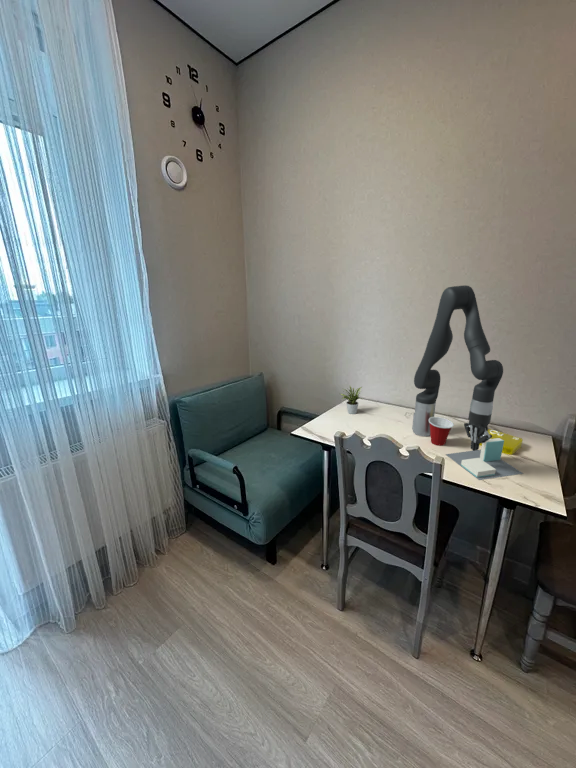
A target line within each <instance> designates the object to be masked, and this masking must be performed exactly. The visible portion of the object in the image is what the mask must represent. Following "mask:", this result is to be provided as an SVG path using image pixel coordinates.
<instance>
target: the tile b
mask: <svg viewBox="0 0 576 768" xmlns="http://www.w3.org/2000/svg"><path fill="white" fill-rule="evenodd" d="M503 444H504V440H502V439H500V438H495V439H489V440H487V441H486V442H485V443H482V446H481V449H480V450H481V454H480V459H481V460H483V461H484V462H487V461H494V460H500V459H501V458H502V454H503V453H502V449H503Z"/></svg>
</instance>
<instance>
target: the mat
mask: <svg viewBox="0 0 576 768" xmlns="http://www.w3.org/2000/svg"><path fill="white" fill-rule="evenodd" d="M480 454H481V449H478V450H475V451H473V450H467V451H460V452H454V453H446V454H445V456H447V457H448V458H450V459H451V460H452V461H453V462H455V463H456V464H457V465H458V466H460V467H461V468H463V469H464V470H465V471H466V472H467V473H469V474H470V475H471V476H473V477H474V478H475V479H476V480H478V481H484V480H492V479H497V478H504V477H509V476H515V475H522V474H524V473H523V471H520V470H519V469H517V468H515V467H514V466H512V465H511V464H510V463H508V462H506V461H505V460H503V459H500V460H494V461H487V462H486V463H487V464H489V465H490V466H492V467H493V468H495V469H496V472H495V475H491V476H484V477H478V478H477V477H476V476H474V475H473V474H472V473H470V472H469V471H468V470H466V469H465V468H464V467H463V466H461V462H462V460H466V459H473V458H480Z"/></svg>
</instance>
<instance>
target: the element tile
mask: <svg viewBox="0 0 576 768" xmlns="http://www.w3.org/2000/svg"><path fill="white" fill-rule="evenodd" d="M488 433H489V435H492V438H490V439H495V438H500V439H502V440H504V444H503V449H502V454H504V455H506V456H507V455H508V456H509V455H510V456H512V455H514V454H515V453H516V452H517V451H518V450H519V449H522V445H523V438H522V437H519V436H514V435H512V434H508V433H505V432H502V431H499V430H494V429H491V428H488ZM479 447H482V443H479Z"/></svg>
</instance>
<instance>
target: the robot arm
mask: <svg viewBox="0 0 576 768" xmlns="http://www.w3.org/2000/svg"><path fill="white" fill-rule="evenodd" d="M438 303H439V304H438V308H437V313H436V317H435V321H434V323H433V327H432V330H431V332H430V335H429V338H428V341H427V343H426V346H425V347H426V348H425V350H424V353H423V356H422V359H421V360H420V363H419V365H418V367H417V369H416V372H415V374H414V378H413V383H414V386H415V388H417V389H420V390H423V391H422V392H419V393H417V394H416V396H415V406H414V412H413V419H412V427H411V429H412V432H413V434H415V435H417V436H419V437H420V436H421V437H430V424H429V418H431V417H435V413H436V404H437V399H438V397H439V390H440V387H441V374H440V372H439V370H437V369H432V368H433V366H435V364H437V363H438V362H439V361H440V360H441V359H442V358H444V357H445V356H446V355H447V353H448V352H449V350H450V347H451V344H452V342H453V339H454V338H453V337H454V335H453V331H452V327H451V322H450V321H451V318H452V315H453V313H454V311H456V310H462V312H463V314H464V316H465V326H464V332H463V339H464V340H463V341H464V343H465V345H466V348H467V351H468V352H469V353H468V354H469V360H470V370H471V375H472V376H473V377H474V378H475V379H477V380H478V381H480V382H479V383H477V384H475V385H474V387H473V389H472V390H473V392H472V398H471V402H470V406H469V411H468V417H467V419H468V422H465V423H463V425H464V430H465V432H466V436H467V438H470V449H471V451H475V450H480V449H479V448H480V445H479V443H485V442H486V441H487V440H489V439H490V438H492V435H489V433H488V429H489V427H488V426H489V424H490V423H491V419H492V414H493V408H494V399H495V393H496V392H495V391H496V390H497V388H498V386H499V384H500V382H501V380H502V378H503V374H504V366H503V364H502V362H500V361H499V360H496V359H491V360H489V359H488V360H487V359H486V355H488V354H489V353H490V352H491V347H490V344H489V341H488V339H487V337H486V334H485V331H484V329H483V326H482V325H483V324H482V322H481V318H480V312H479V307H478V302H477V297H476V293H475V291H474V289H473V287H471V286H470V285H466V284H465V285H456V286H454V285H453V286H449V287H446V288H445V289H444V290H443V292H442V293H441V296H440V299H439V302H438Z"/></svg>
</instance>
